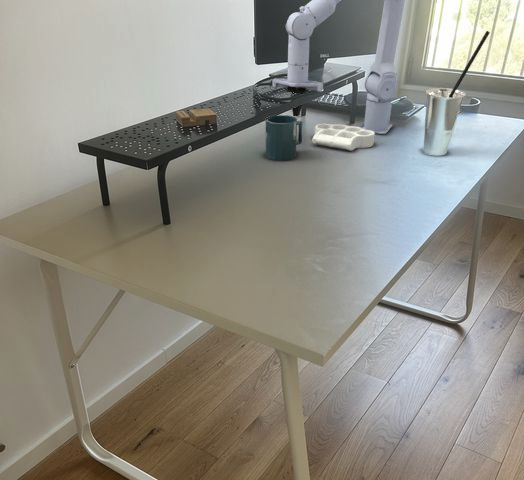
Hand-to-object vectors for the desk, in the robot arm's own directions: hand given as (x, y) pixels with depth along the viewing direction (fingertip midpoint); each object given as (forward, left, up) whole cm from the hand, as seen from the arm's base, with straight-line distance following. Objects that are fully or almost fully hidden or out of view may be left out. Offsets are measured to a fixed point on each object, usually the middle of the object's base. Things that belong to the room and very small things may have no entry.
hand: (296, 115), depth 161 cm
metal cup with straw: (-2, +41, -6) cm, 42 cm away
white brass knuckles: (0, +14, -6) cm, 15 cm away
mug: (+16, +3, -6) cm, 17 cm away
